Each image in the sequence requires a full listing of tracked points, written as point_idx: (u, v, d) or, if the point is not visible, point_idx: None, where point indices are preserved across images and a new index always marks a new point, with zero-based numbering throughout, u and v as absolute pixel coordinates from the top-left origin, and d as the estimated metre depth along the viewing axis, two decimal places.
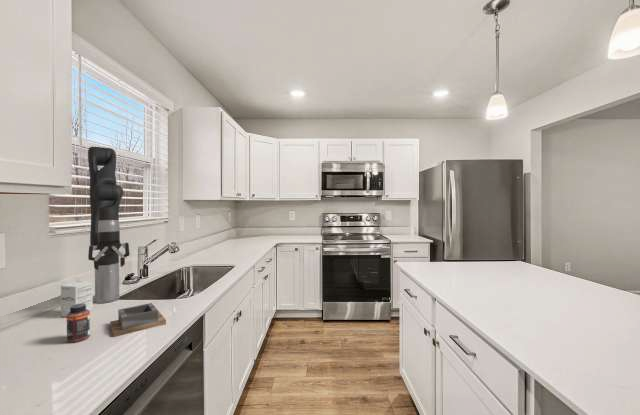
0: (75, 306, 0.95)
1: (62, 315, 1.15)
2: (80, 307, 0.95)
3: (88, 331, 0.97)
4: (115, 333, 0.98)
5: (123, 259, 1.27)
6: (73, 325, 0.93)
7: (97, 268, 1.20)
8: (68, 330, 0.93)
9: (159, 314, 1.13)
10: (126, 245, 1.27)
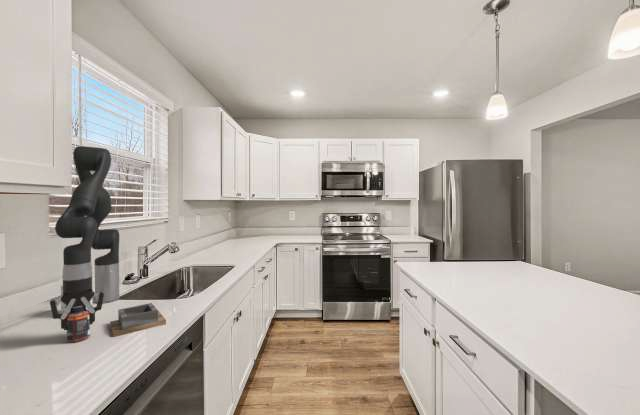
0: None
1: None
2: (80, 307, 0.95)
3: (88, 331, 0.97)
4: (115, 333, 0.98)
5: (93, 314, 0.98)
6: (73, 325, 0.93)
7: (65, 328, 0.93)
8: (68, 330, 0.93)
9: (159, 314, 1.13)
10: (100, 296, 0.99)
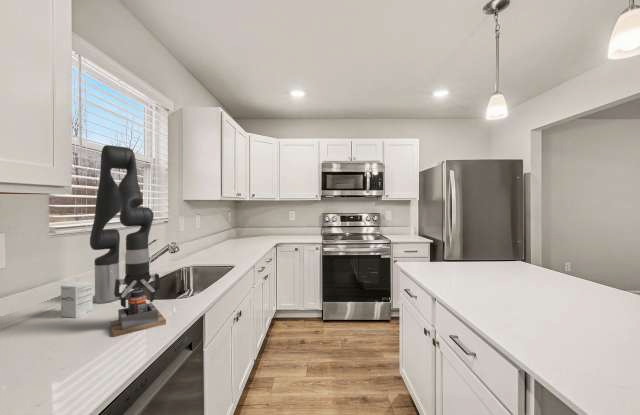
0: (135, 291, 1.06)
1: (62, 315, 1.15)
2: (140, 292, 1.06)
3: None
4: (115, 333, 0.98)
5: (153, 293, 1.10)
6: (135, 308, 1.04)
7: (124, 306, 1.03)
8: (130, 312, 1.04)
9: (159, 314, 1.13)
10: (156, 277, 1.10)
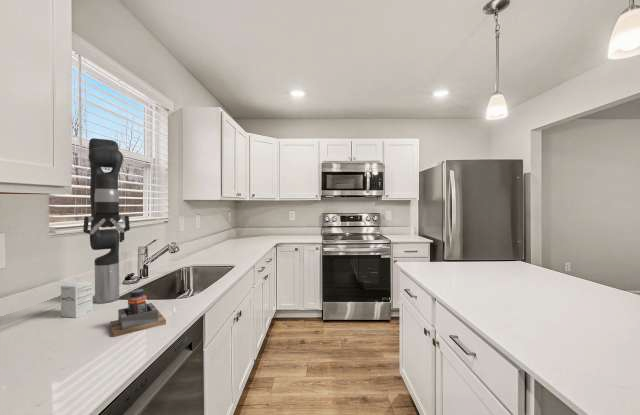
0: (135, 291, 1.06)
1: (62, 315, 1.15)
2: (140, 292, 1.06)
3: None
4: (115, 333, 0.98)
5: (123, 234, 1.13)
6: (135, 308, 1.04)
7: (93, 242, 1.07)
8: (130, 312, 1.04)
9: (159, 314, 1.13)
10: (126, 218, 1.14)
